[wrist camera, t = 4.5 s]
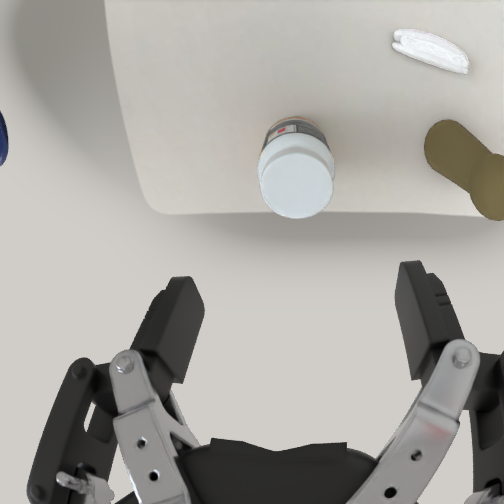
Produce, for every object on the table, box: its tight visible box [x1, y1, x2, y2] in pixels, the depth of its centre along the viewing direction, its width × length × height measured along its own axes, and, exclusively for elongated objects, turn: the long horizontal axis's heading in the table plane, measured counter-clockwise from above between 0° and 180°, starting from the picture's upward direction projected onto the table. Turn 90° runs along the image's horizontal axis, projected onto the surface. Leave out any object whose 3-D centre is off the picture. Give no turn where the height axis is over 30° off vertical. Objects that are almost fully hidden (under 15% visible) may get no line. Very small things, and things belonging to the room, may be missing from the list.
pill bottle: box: [257, 117, 335, 219], centre depth 21 cm, size 6×6×10 cm
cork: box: [424, 120, 504, 221], centre depth 18 cm, size 6×6×11 cm
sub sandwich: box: [392, 29, 469, 74], centre depth 16 cm, size 3×8×3 cm, turn 89°
